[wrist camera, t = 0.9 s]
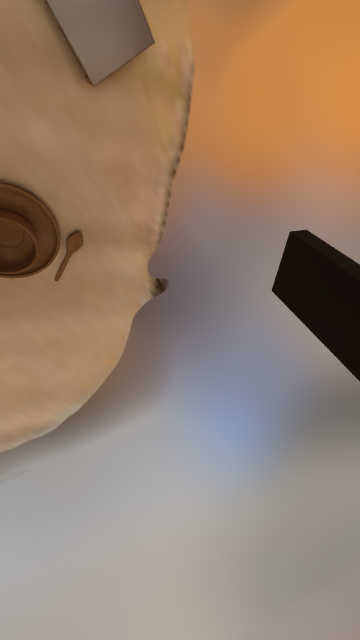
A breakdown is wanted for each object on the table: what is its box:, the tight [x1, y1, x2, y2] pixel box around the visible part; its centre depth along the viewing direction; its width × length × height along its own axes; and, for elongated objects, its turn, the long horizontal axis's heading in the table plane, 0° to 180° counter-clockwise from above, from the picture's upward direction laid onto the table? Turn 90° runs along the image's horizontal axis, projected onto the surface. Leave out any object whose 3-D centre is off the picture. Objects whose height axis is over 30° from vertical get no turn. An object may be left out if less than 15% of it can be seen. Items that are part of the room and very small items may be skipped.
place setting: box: [0, 183, 83, 281], centre depth 32 cm, size 18×20×6 cm
